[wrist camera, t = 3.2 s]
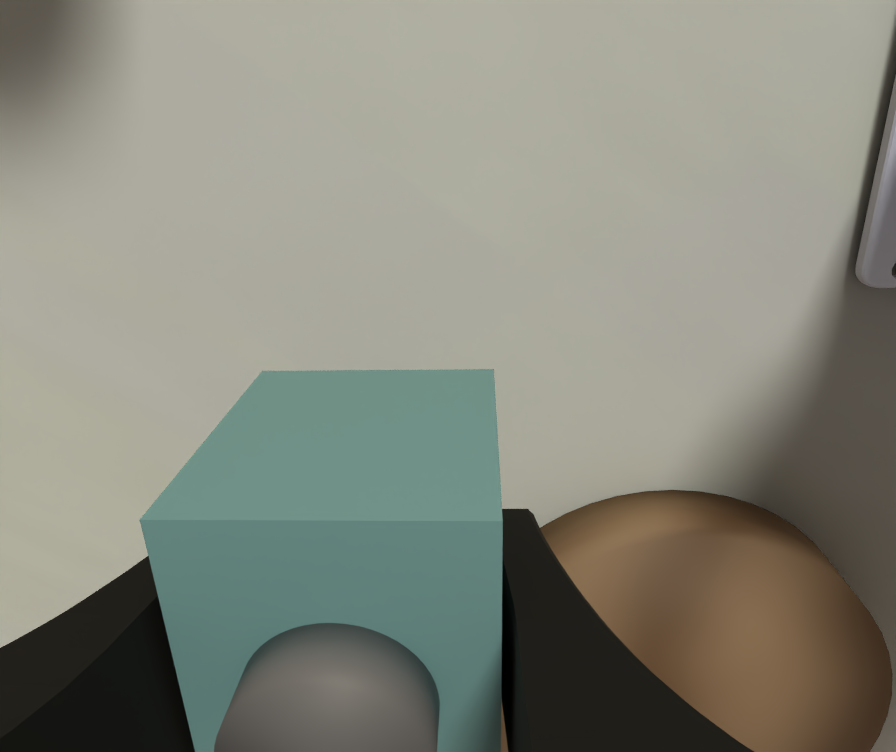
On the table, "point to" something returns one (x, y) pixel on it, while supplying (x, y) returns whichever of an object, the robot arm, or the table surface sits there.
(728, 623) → the stand
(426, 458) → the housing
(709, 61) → the table surface
